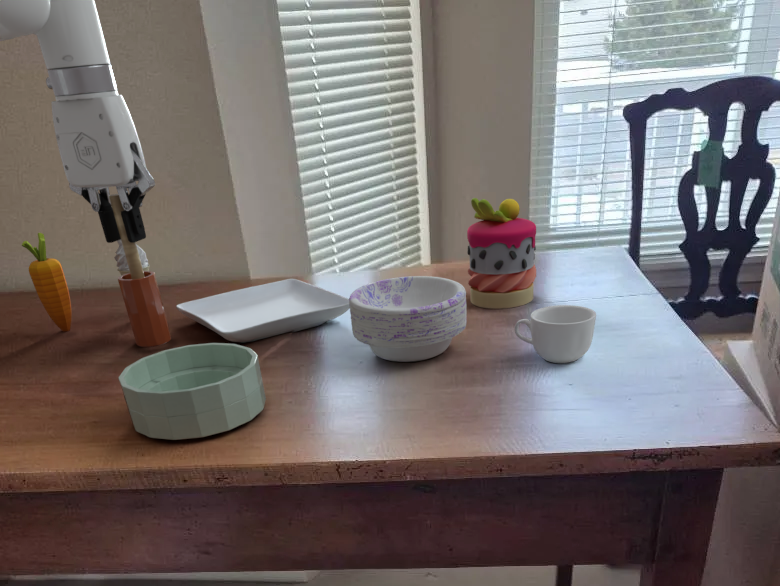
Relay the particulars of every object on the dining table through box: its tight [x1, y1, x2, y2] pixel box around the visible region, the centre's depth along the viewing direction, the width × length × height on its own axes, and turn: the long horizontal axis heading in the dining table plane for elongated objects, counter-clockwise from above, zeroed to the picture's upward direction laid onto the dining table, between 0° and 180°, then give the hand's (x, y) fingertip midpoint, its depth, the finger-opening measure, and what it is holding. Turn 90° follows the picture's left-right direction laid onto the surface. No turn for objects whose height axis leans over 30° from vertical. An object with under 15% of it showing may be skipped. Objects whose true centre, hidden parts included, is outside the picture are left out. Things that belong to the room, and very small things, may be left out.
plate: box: [175, 278, 350, 343], centre depth 113 cm, size 21×21×3 cm
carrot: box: [21, 232, 73, 332], centre depth 113 cm, size 5×5×15 cm
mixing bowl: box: [117, 342, 267, 441], centre depth 84 cm, size 15×15×6 cm
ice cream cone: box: [114, 239, 151, 276], centre depth 117 cm, size 5×5×15 cm
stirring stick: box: [109, 193, 145, 279], centre depth 104 cm, size 2×2×20 cm
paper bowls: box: [348, 275, 468, 363], centre depth 96 cm, size 15×15×8 cm
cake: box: [466, 197, 537, 310], centre depth 111 cm, size 10×10×15 cm
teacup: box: [514, 304, 597, 364], centre depth 91 cm, size 10×8×5 cm
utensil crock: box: [117, 270, 172, 348], centre depth 106 cm, size 5×5×10 cm
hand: (126, 239), depth 101 cm, fingers open, 3 cm apart
